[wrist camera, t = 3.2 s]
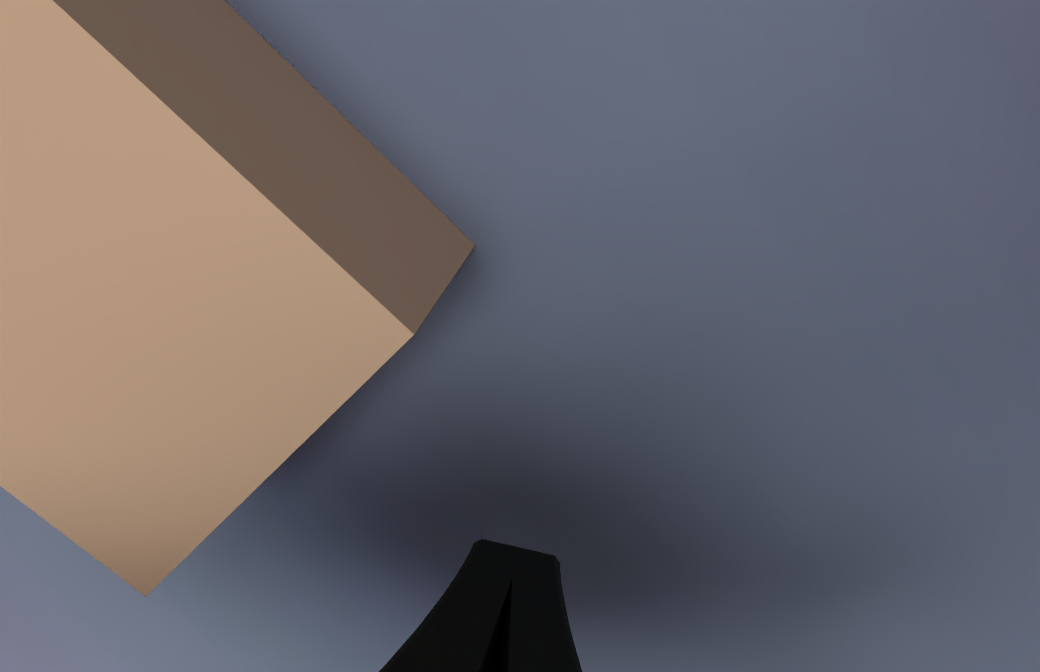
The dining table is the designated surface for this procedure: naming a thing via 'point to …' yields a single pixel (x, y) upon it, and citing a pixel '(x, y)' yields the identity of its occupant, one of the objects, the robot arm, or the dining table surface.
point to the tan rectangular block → (184, 269)
